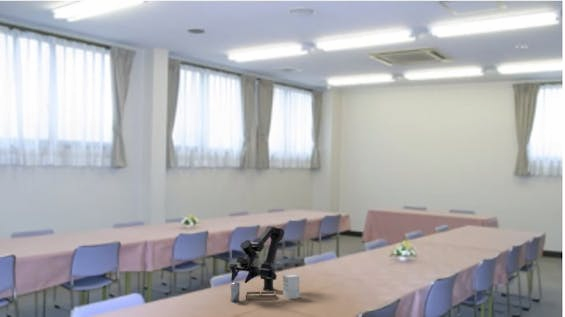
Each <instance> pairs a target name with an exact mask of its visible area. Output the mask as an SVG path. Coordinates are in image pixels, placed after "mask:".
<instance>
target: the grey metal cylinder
mask: <svg viewBox="0 0 565 317" xmlns="http://www.w3.org/2000/svg"><path fill="white" fill-rule="evenodd" d="M240 288H241V285H240V282H238V281H234V282H233V281H231V283H230V302H231V303H239V302H240V293H241V292H240Z"/></svg>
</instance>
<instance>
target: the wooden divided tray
mask: <svg viewBox="0 0 565 317" xmlns="http://www.w3.org/2000/svg"><path fill="white" fill-rule="evenodd" d="M245 300H246V301H248V300H249V301H251V300H252V301H255V300H256V301H257V300H258V301H259V300H266V301H267V300H269V301H270V300H277V293H276V291H274V290H266V291H246V292H245Z"/></svg>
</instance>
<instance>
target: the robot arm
mask: <svg viewBox="0 0 565 317" xmlns="http://www.w3.org/2000/svg"><path fill="white" fill-rule="evenodd" d="M284 235H285V230H284V229H283V228H281V227H275V226H270V225H269V226H266V227H265V229H264V230H263V232H262V233H261V234H260V235H259V236H258V237H257V238H255V239H253V240H252V241H250V240H249V239H246V240H245V241H243V242H241V243H240V245H239V246H240V249H241V250H242V252H243V254H245V256H239V255H238V256H237V257H236V258H237V259H236V263H230V264H229V266H228V268H229V270H230V271H231V280H230V281H231V282H233V281H235V279H236V278H237V276H238V275H239V272H240V271H241V272H243V271H244V272H246V273H247V272H248V274H247V276H246V277H245V279H244V283H245V284H247V283H249V282H250V281H252V279H254V278H256V277H259V276H260V279H261V280H263V287H262V289H263V291H274V290H275V288H274V281H275V280H277V277H278V276H277V274H276V272H275V266H274V263H275V258H276V255H277V251H278V247H279V243H280V242H281V241H282V240H283V237H284ZM268 239H270V243H269V247H268V251H267V255H266V259H265V262H264V263H261V265H260V268H259V267H258V266H257V265H256V266H255V260H256V259H259V253H260V252H262V251H263V249H264V247H265V243H266V242H268ZM257 252H259V253H257ZM237 263H239V264H237ZM238 265H239V266H238Z"/></svg>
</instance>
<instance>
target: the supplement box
mask: <svg viewBox="0 0 565 317" xmlns="http://www.w3.org/2000/svg"><path fill="white" fill-rule="evenodd" d="M283 297H284V298H285V299H287V300H292V299H299V298H300V275H298V274H295V273H294V274H293V273H290V274H282V298H283Z"/></svg>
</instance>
